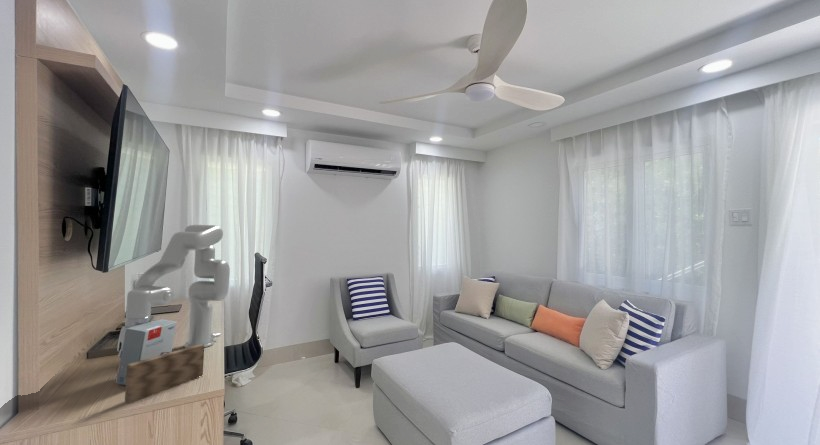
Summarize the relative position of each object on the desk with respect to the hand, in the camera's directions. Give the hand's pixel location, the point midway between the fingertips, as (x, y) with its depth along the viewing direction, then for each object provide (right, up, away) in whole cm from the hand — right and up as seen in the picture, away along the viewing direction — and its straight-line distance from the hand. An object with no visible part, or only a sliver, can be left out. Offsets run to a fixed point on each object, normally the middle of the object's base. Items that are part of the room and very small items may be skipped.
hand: (134, 369), depth 126 cm
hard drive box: (+5, -2, -2) cm, 6 cm away
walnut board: (+19, -3, -9) cm, 22 cm away
